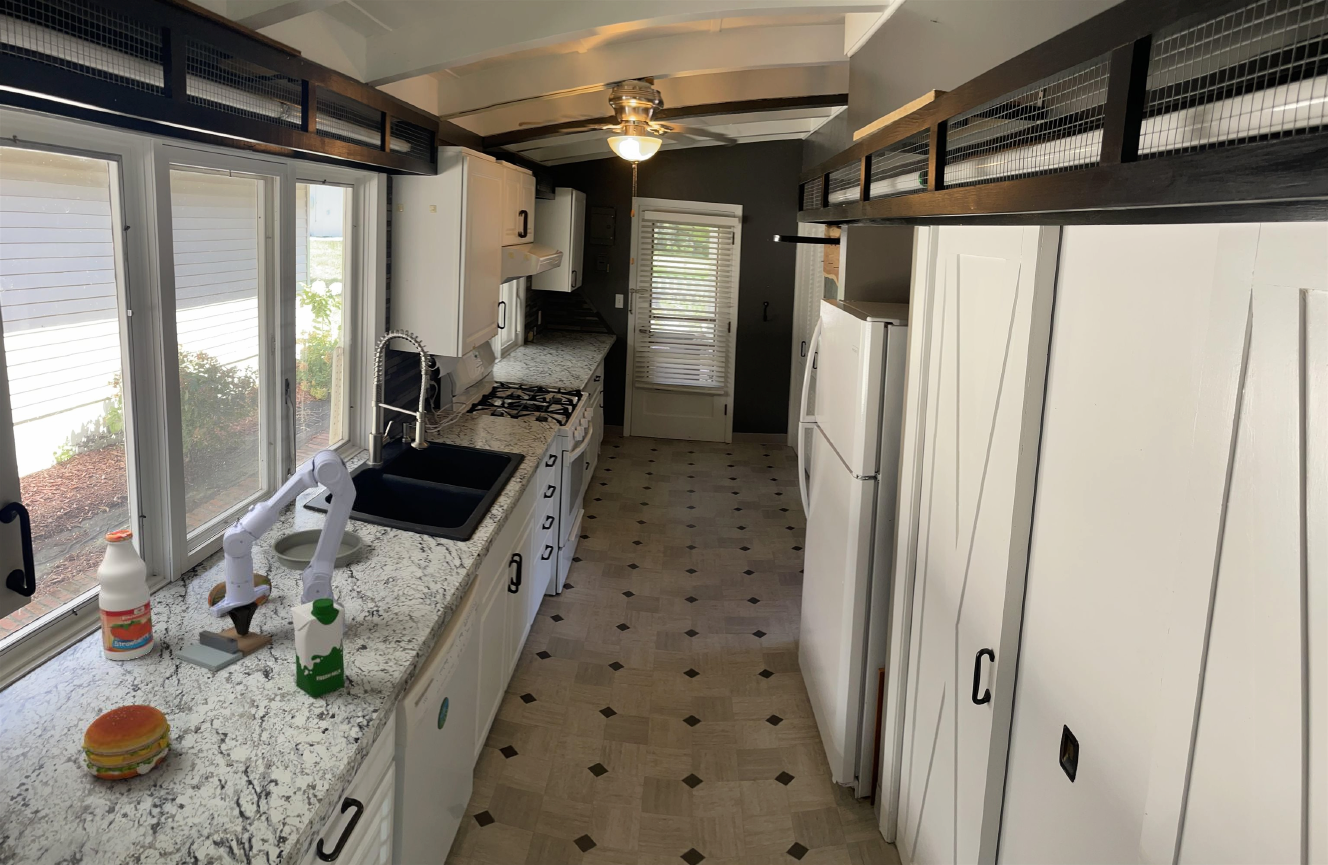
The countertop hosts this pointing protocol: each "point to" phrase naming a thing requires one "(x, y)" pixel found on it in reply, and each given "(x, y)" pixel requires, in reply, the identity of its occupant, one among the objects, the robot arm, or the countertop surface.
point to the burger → (126, 742)
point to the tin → (220, 591)
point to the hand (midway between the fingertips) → (242, 633)
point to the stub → (211, 651)
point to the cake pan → (313, 548)
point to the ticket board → (247, 640)
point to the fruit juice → (124, 599)
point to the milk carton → (319, 646)
